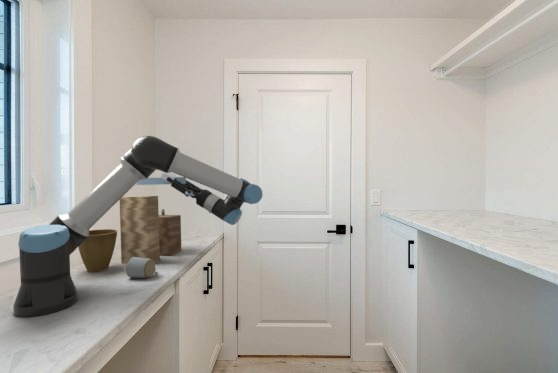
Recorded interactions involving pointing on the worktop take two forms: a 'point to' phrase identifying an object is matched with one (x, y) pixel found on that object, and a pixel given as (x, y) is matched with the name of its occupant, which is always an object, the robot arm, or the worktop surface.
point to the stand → (139, 228)
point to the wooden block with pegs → (169, 234)
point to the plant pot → (98, 249)
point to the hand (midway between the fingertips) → (165, 174)
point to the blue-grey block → (159, 181)
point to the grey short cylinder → (140, 267)
